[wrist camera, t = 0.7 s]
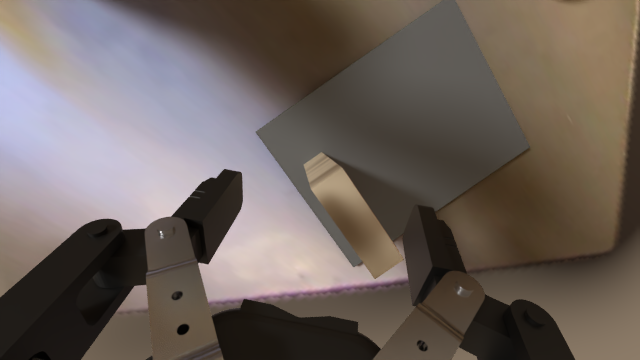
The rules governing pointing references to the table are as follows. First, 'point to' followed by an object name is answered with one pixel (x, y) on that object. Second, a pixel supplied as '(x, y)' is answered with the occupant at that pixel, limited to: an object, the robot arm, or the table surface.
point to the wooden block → (352, 214)
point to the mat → (403, 124)
